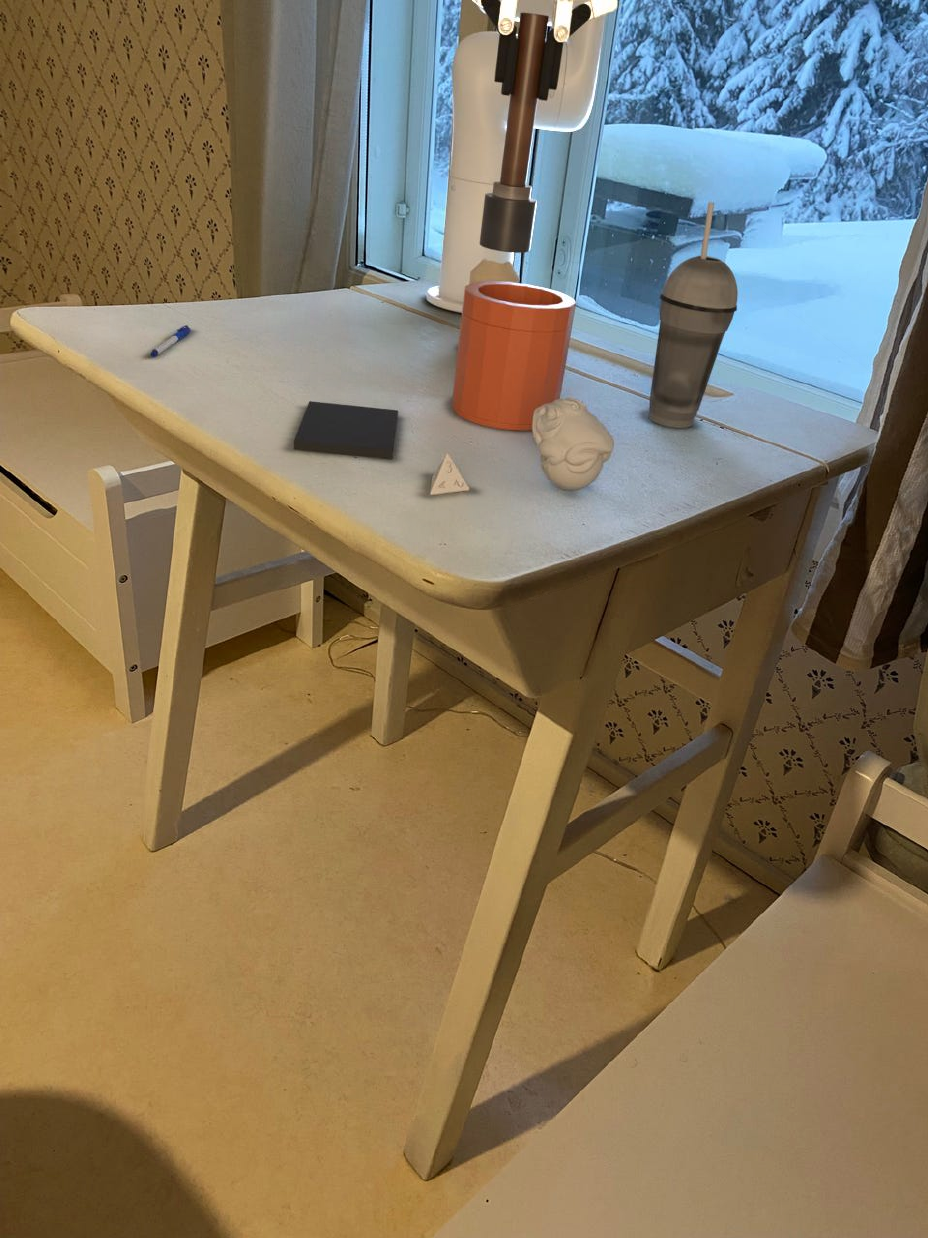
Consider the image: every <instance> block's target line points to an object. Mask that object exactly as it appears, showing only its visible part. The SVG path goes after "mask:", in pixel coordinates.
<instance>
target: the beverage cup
mask: <svg viewBox="0 0 928 1238" xmlns="http://www.w3.org/2000/svg"><path fill="white" fill-rule="evenodd" d="M714 208H715V202H710V201H709V202H708V205H707V211H706V217H705V223H704V231H703V236H702V244H701V249H700V255H697V256H693V257H690V258H687V259H685V260H684V261H682V262H680V263H679V264H678V265H676V267H675V268H674V269H673V270H672V271H671V272H670V274H669V275H668V277H667V278H666V280H665V282H664V285H663V288H662V291H661V293H660V295H659V299H660V304H659V329H658V336H657V343H656V351H655V358H654V365H653V366H654V367H653V372H652V380H651V387H650V394H649V406H648V407H649V408H648V414H647V418H648V419H649V421H651V422H653V423H656V424H657V425H660V426H664V427H668V428H676V429H685V428H687V429H688V428H691V427H692V426H693V424H694V421H695V419H696V416H697V414H698V411H699V409H700V407H701V404H702V400H703V398H704V395H705V392H706V389H707V387H708V383H709V380H710V378H711V374H712V371H713V369H714V366H715V363H716V360H717V357H718V355H719V351H720V348H721V345H722V343H723V341H724V338H725V337H724V336H725V334H726V332H727V331H728V330H729V327H730V326H731V323H732V321H733V318H734V315H735V312H737V311H738V305H737V304H738V296H739V295H738V294H739V292H738V291H739V290H738V285H737V281H736V278H735V274H734V273H733V270H732V269H731V268H730V266H729V265H727V263H725V262H724V261H723V260H721V259H719V258H717V257H714V256H708V248H709V242H710V235H711V228H712V222H713V214H714Z"/></svg>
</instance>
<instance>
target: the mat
mask: <svg viewBox="0 0 928 1238" xmlns="http://www.w3.org/2000/svg"><path fill="white" fill-rule="evenodd" d="M398 418H399V410H397V409H388V408H379V407H368V406H360V405H350V404H341V403H333V402H332V403H331V402H322V401H321V402H320V401H312V400H309V401H308V404H307V406H306V408H305V412H304V413H303V416H302V419H301V422H300V423H299V426H298V429H297V430H296V431H297V432H296V434H295V436H294V439H293V450H297V451H307V452H316V453H327V454H336V455H347V456H355V457H366V458H375V459H376V458H377V459H385V460H386V459H387V460H393V457H394V448H395V442H396V435H397V434H396V433H397V427H398V420H399V419H398Z"/></svg>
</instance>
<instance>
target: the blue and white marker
mask: <svg viewBox="0 0 928 1238" xmlns="http://www.w3.org/2000/svg"><path fill="white" fill-rule="evenodd" d="M190 332H191V328H190V327H189V325H188V324H187V325H183V326H181V327H180V328H178V329H176V332H175V333H174V334H172V335H171V337H169V338H168V339H166V340H165V341H163V342H162V343H160V344H159V345H158V346H156V347H154V348H153V349H152V350H151V352H150V357H156V356H159V355H160V354H161V353H162V352H164V351H166V350H167V349H169V347H171V346H172V345H174V344H175V343H176V342H179V341H180V340H182V339H183V338H184V337H186V336H187V335H189V333H190Z"/></svg>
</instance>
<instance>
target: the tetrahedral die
mask: <svg viewBox="0 0 928 1238" xmlns="http://www.w3.org/2000/svg"><path fill="white" fill-rule="evenodd" d="M430 483H431V484H430V496H435V495H444V494H452V493H459V492H468V491H470V487H469V485H468V484H467V482H466V480H465V478H464V477H463V475H462V473H461V472H460V470H459V468H458V467H457V465H456V464H455V462H454V460H453V458H452V457H451V455H450V453H446V454H445V456H444V457H443V459H442V460H441V462H440V464H439V465H438V467H437V468H436V470H435V472H434V473H433V475H432V476H431V482H430Z"/></svg>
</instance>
